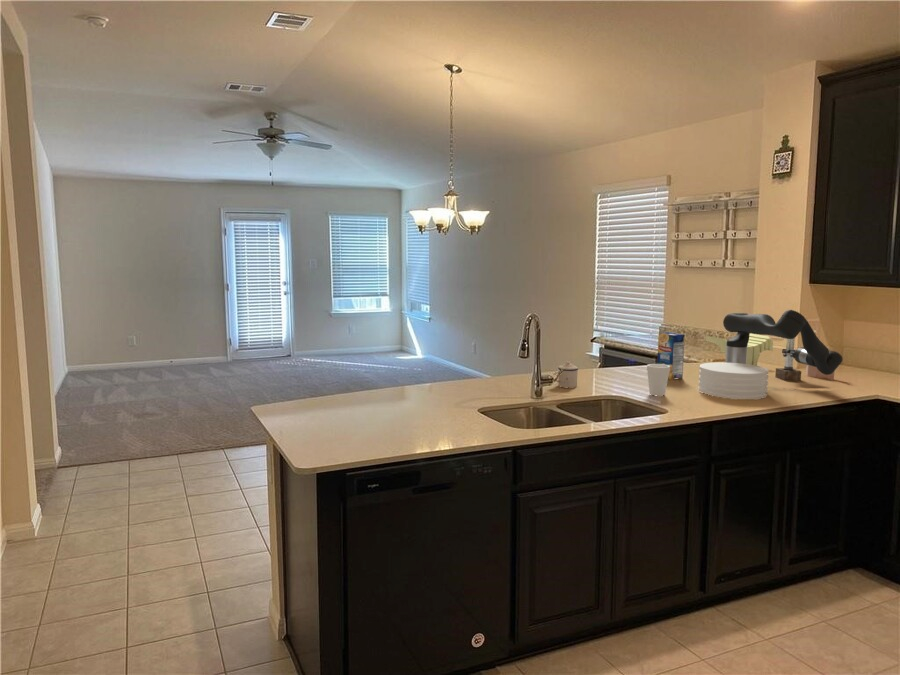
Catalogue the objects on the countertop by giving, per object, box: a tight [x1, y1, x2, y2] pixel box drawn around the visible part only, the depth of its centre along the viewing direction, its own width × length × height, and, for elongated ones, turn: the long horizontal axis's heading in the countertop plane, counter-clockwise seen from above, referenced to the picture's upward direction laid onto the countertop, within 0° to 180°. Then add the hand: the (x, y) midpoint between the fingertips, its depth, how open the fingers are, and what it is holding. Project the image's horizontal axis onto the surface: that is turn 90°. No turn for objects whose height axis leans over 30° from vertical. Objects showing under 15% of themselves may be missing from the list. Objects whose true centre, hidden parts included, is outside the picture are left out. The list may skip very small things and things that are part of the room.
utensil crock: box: [805, 365, 835, 381], centre depth 314 cm, size 11×11×10 cm
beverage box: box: [656, 331, 686, 380], centre depth 317 cm, size 7×11×22 cm, turn 22°
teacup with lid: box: [553, 361, 579, 388], centre depth 294 cm, size 12×9×12 cm
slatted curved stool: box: [705, 333, 774, 366], centre depth 340 cm, size 30×16×18 cm, turn 109°
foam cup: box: [646, 363, 670, 397], centre depth 277 cm, size 10×9×13 cm
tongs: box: [783, 337, 796, 371], centre depth 305 cm, size 3×2×24 cm
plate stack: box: [697, 361, 770, 400], centre depth 282 cm, size 28×28×12 cm
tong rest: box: [774, 367, 802, 382], centre depth 307 cm, size 8×8×6 cm
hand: (786, 350), depth 308 cm, fingers closed on tongs, 2 cm apart
